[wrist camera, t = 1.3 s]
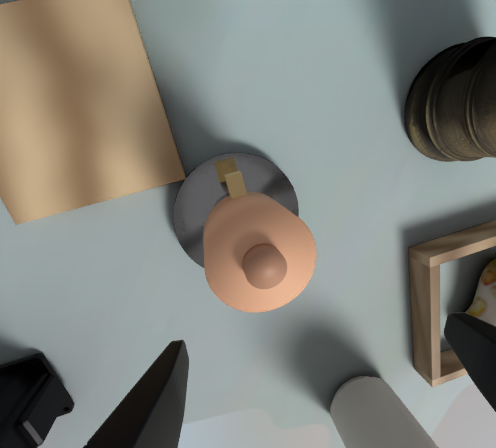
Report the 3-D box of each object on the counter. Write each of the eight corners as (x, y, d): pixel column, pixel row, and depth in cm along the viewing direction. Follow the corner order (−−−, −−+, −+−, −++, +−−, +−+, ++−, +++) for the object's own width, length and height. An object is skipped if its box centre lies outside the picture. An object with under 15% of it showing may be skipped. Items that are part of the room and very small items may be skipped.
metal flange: (196, 284, 23) (195, 320, 18) (156, 171, 20) (142, 179, 15) (303, 251, 24) (329, 277, 19) (281, 138, 20) (306, 136, 16)
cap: (222, 299, 18) (230, 357, 13) (185, 184, 15) (177, 201, 10) (298, 275, 18) (334, 322, 14) (275, 160, 16) (308, 165, 11)
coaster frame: (414, 368, 31) (432, 387, 28) (408, 247, 26) (429, 257, 23) (537, 323, 32) (564, 337, 30) (554, 200, 27) (588, 206, 25)
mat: (25, 220, 19) (15, 224, 18) (-80, 30, 15) (-98, 22, 14) (186, 177, 20) (185, 179, 19) (126, -10, 16) (122, -20, 15)
